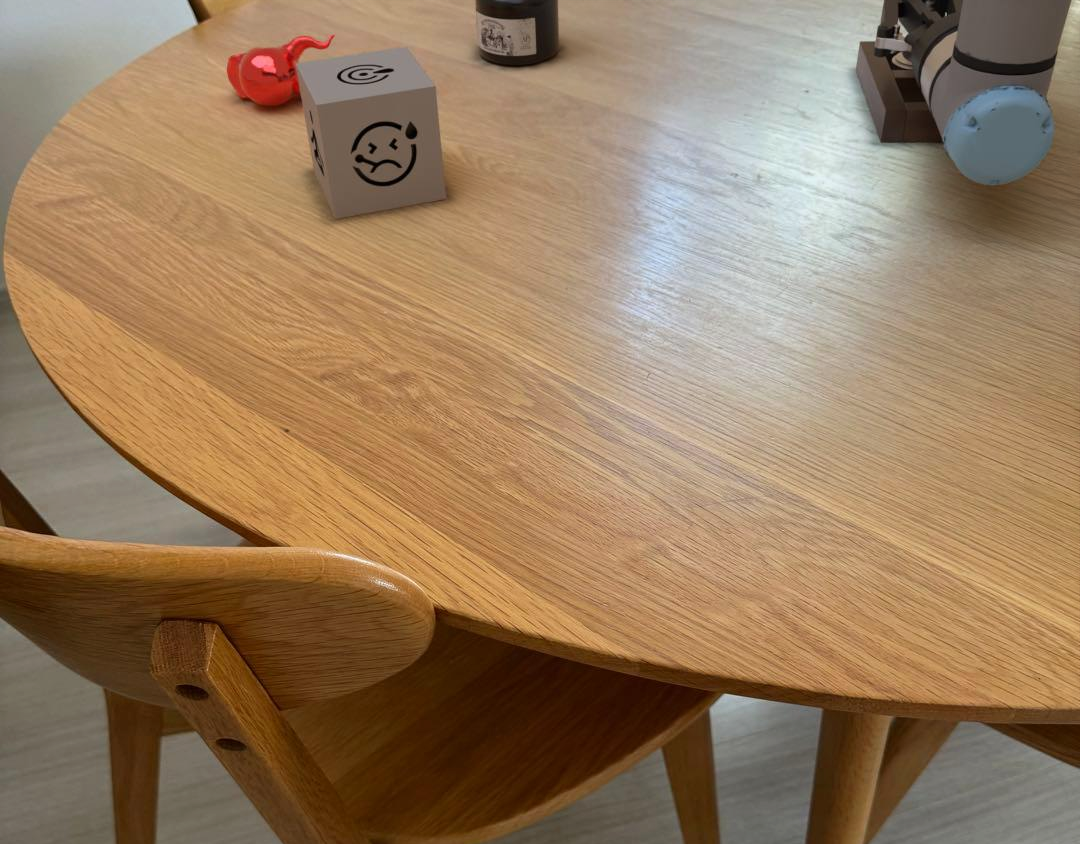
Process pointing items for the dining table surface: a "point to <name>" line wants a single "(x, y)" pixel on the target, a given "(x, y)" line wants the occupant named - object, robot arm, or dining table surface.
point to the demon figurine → (270, 71)
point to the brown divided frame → (894, 99)
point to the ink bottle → (517, 30)
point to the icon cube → (372, 131)
